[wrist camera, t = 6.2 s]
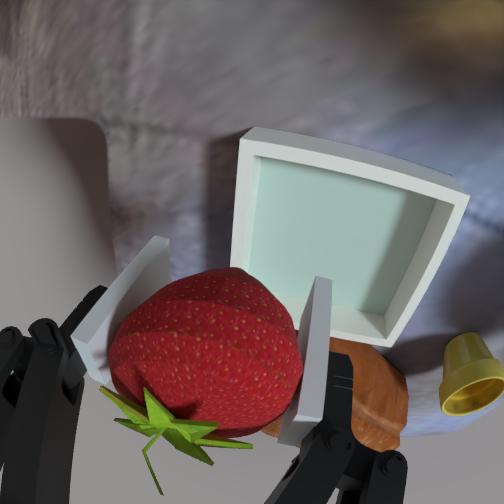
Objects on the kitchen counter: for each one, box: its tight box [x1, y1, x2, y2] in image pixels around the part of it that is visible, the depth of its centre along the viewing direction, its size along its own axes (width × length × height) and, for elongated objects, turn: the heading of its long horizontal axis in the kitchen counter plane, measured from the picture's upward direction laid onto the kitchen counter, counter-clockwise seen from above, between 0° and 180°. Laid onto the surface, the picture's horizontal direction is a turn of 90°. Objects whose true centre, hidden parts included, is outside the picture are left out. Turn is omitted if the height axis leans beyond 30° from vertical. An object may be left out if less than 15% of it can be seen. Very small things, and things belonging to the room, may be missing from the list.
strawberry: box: [99, 267, 303, 495], centre depth 10 cm, size 6×8×10 cm
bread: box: [260, 329, 409, 452], centre depth 39 cm, size 17×24×15 cm
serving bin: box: [230, 127, 470, 347], centre depth 30 cm, size 20×20×5 cm
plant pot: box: [439, 332, 504, 416], centre depth 32 cm, size 10×10×10 cm
